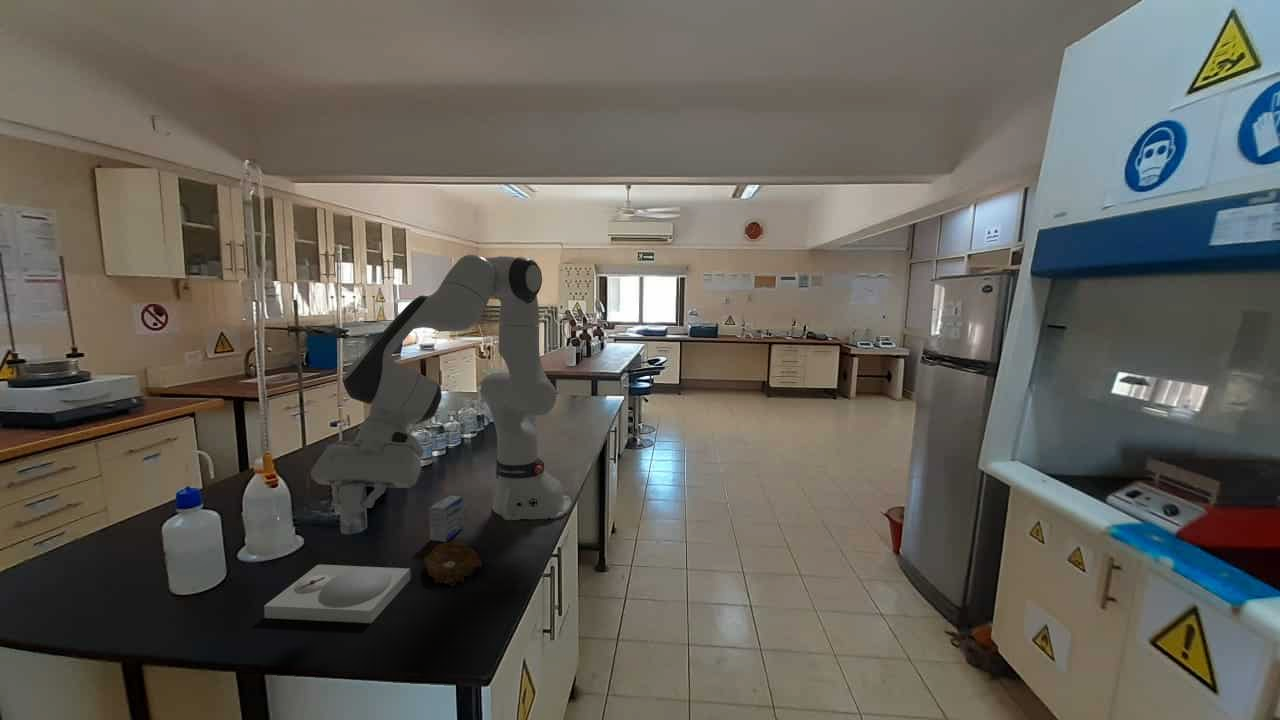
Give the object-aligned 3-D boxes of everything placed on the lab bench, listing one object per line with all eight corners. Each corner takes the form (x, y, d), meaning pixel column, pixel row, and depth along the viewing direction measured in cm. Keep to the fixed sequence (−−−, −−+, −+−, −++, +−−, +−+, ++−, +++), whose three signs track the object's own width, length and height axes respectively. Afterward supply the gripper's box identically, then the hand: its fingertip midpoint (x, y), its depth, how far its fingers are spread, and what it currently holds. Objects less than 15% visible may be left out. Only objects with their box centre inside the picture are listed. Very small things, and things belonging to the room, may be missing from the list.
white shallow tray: (410, 579, 100) (410, 565, 100) (371, 623, 87) (370, 607, 86) (318, 575, 101) (317, 561, 101) (264, 617, 87) (263, 602, 87)
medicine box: (445, 542, 116) (444, 509, 115) (429, 540, 117) (428, 507, 116) (463, 528, 124) (463, 496, 123) (448, 526, 125) (447, 494, 124)
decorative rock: (417, 562, 108) (435, 597, 97) (415, 545, 108) (433, 579, 96) (467, 545, 115) (489, 575, 104) (466, 529, 114) (488, 558, 103)
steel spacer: (372, 524, 94) (370, 480, 93) (358, 534, 90) (356, 489, 89) (350, 523, 94) (348, 479, 93) (335, 533, 90) (333, 488, 89)
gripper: (323, 432, 97) (289, 497, 89) (420, 436, 97) (396, 501, 88) (338, 447, 102) (307, 509, 94) (431, 451, 102) (409, 514, 93)
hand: (351, 506), depth 91 cm, fingers closed on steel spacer, 4 cm apart
